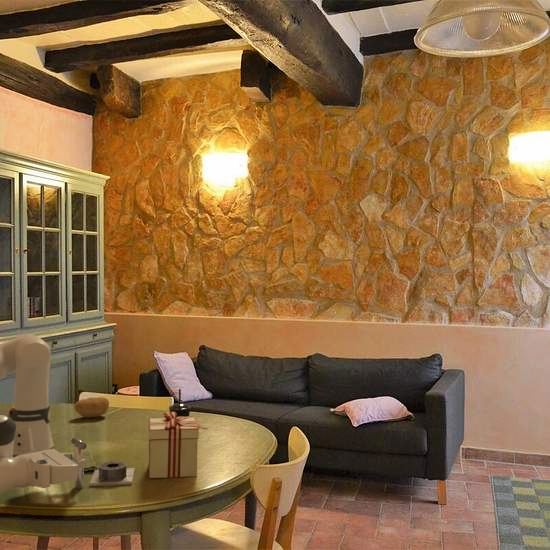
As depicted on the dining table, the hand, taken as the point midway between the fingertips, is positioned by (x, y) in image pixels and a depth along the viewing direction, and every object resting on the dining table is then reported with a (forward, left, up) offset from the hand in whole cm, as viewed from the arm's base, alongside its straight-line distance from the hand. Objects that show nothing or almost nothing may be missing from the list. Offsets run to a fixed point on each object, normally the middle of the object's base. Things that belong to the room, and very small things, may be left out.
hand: (81, 459), depth 190 cm
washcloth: (-5, +20, -9) cm, 22 cm away
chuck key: (-1, 0, -8) cm, 8 cm away
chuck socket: (+8, +6, -8) cm, 13 cm away
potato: (-8, +83, -8) cm, 83 cm away
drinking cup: (+28, +38, -8) cm, 48 cm away
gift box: (+27, +12, -8) cm, 31 cm away
